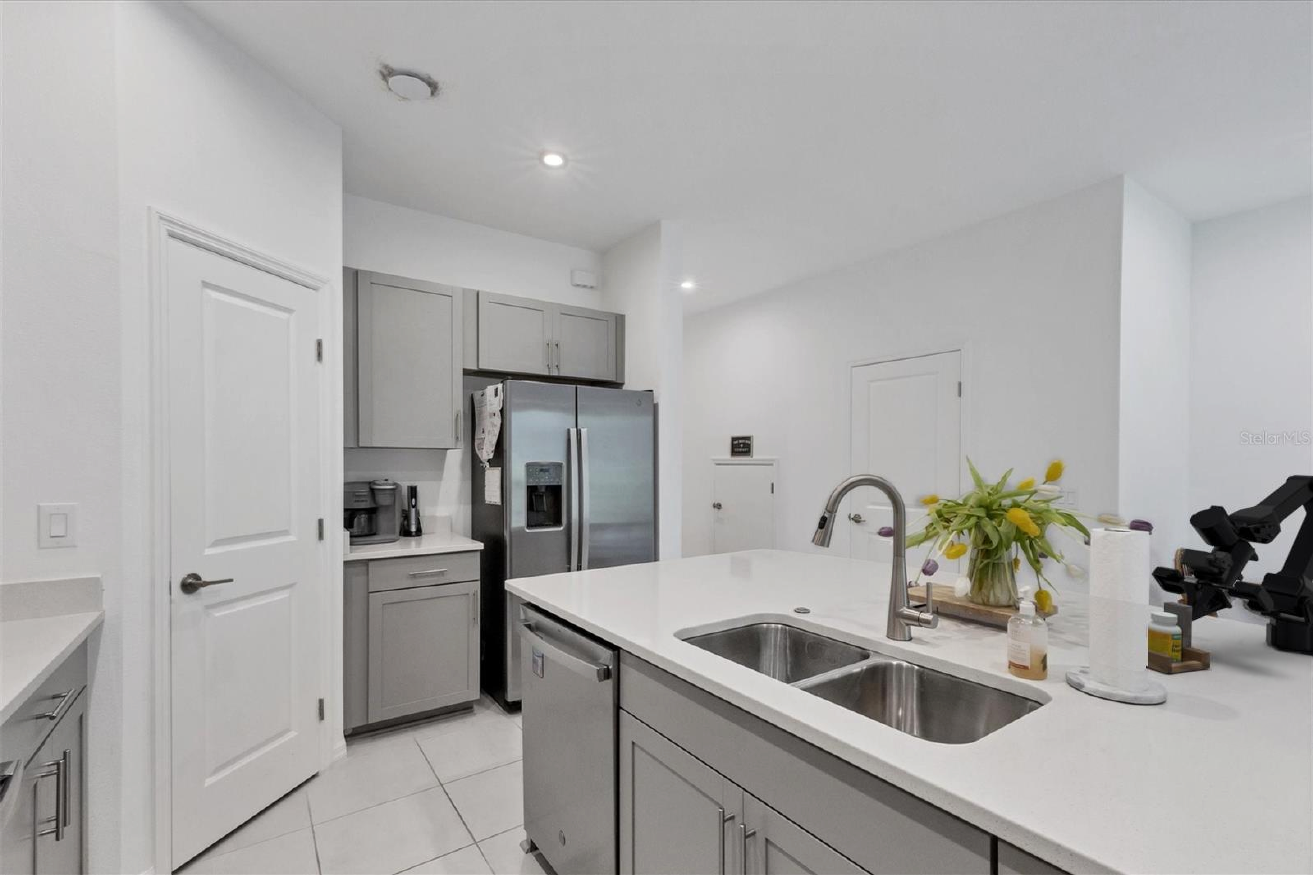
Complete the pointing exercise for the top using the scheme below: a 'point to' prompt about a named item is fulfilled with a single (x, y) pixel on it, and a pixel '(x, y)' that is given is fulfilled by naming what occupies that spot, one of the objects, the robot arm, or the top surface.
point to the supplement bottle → (1165, 635)
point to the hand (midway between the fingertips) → (1189, 619)
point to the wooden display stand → (1189, 655)
